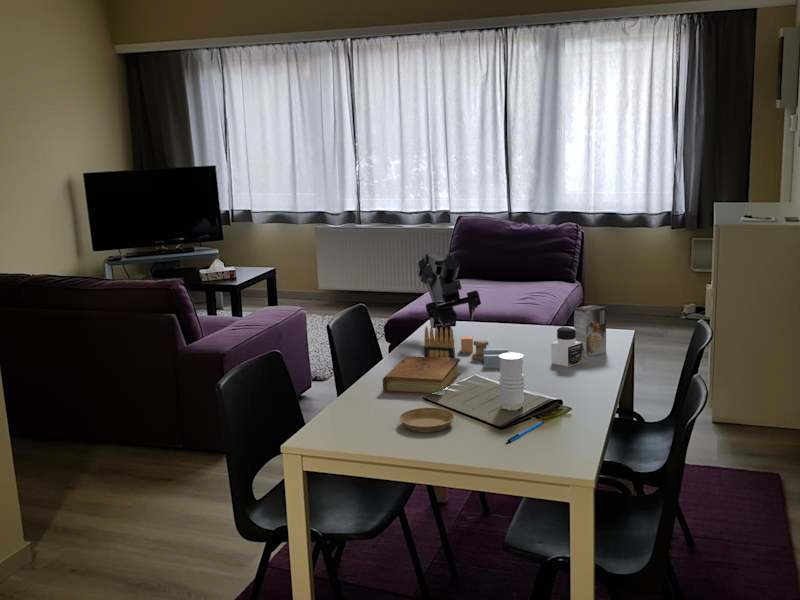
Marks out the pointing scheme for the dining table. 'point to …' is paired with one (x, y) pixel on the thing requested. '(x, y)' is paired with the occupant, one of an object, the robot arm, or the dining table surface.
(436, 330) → the ammunition clip
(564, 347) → the medicine bottle
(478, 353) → the wooden knob
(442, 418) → the plant saucer
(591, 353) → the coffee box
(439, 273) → the robot arm
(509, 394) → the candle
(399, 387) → the diary
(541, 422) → the pen
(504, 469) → the dining table surface
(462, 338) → the block
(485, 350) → the notched board
